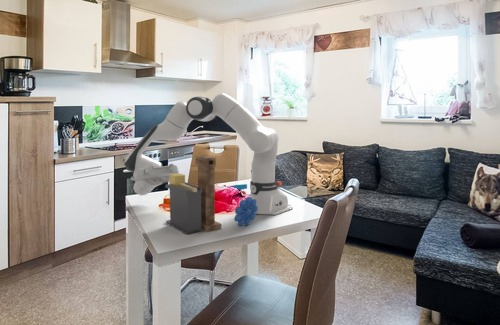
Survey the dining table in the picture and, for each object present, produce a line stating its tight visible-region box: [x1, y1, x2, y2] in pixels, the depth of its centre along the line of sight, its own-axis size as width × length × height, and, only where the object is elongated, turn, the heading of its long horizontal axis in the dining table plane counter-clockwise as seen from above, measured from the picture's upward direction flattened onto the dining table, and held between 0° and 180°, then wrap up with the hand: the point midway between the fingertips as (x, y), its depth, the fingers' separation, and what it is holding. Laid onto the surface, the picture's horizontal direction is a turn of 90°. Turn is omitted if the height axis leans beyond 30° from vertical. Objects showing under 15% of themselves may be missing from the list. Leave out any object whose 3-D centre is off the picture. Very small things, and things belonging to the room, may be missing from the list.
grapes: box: [234, 196, 258, 227], centre depth 151 cm, size 12×7×12 cm, turn 128°
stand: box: [194, 155, 222, 233], centre depth 147 cm, size 7×12×29 cm, turn 39°
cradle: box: [164, 181, 204, 235], centre depth 147 cm, size 7×18×17 cm, turn 39°
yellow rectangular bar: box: [169, 172, 197, 192], centre depth 144 cm, size 4×17×4 cm, turn 39°
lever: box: [230, 183, 248, 195], centre depth 207 cm, size 7×7×18 cm
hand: (162, 166), depth 159 cm, fingers open, 8 cm apart
